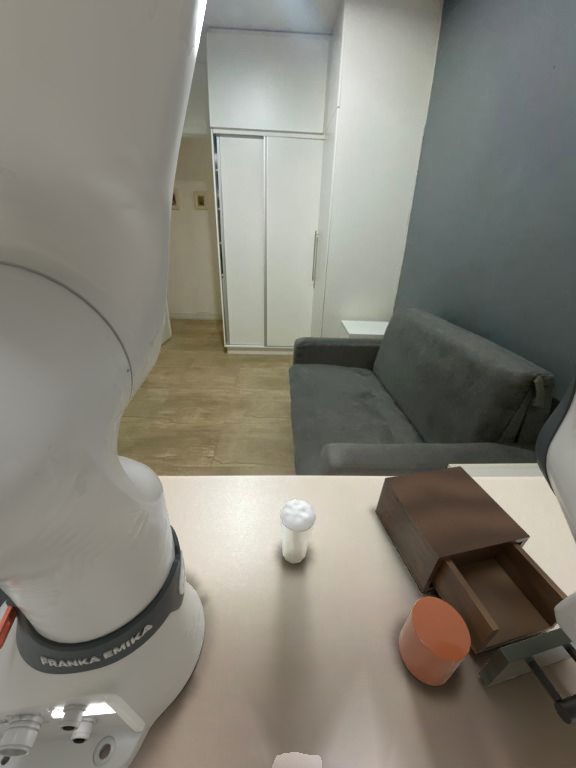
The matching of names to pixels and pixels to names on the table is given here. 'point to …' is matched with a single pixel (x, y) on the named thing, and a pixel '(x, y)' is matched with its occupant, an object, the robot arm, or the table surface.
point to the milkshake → (296, 529)
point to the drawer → (509, 615)
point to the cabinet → (442, 520)
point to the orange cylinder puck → (433, 641)
